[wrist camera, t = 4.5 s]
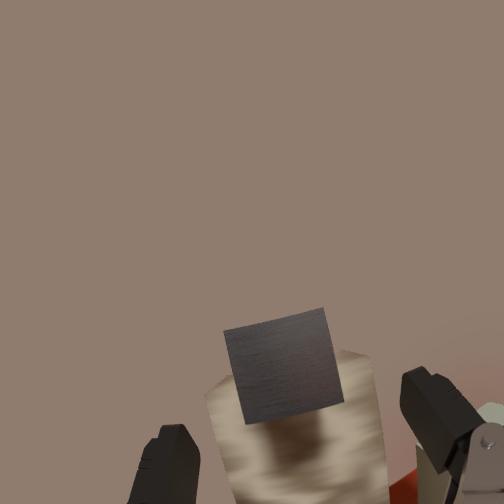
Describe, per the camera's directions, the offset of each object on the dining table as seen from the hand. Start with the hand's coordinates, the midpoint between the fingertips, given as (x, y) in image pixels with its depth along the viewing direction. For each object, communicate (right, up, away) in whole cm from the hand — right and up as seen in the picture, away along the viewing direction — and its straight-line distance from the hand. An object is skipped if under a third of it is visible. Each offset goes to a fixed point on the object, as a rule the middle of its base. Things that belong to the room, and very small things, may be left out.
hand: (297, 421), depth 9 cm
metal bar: (+1, -3, +12) cm, 12 cm away
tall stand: (+8, -34, +6) cm, 36 cm away
